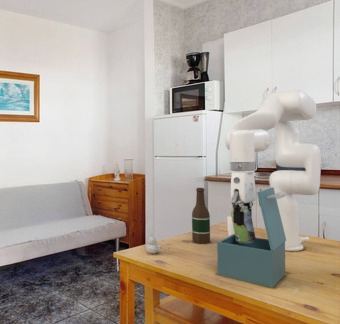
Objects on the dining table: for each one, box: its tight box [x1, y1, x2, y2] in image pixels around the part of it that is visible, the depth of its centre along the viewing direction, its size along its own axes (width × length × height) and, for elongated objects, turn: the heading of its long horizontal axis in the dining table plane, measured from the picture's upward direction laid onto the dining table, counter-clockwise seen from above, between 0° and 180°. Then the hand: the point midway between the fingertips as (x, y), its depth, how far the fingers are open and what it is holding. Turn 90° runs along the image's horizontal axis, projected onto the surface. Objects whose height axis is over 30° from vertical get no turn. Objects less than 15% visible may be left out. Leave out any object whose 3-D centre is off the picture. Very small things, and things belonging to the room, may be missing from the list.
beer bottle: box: [191, 187, 211, 245], centre depth 150 cm, size 8×8×24 cm
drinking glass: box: [226, 214, 235, 237], centre depth 130 cm, size 7×7×15 cm
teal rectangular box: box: [216, 234, 286, 289], centre depth 110 cm, size 17×14×11 cm
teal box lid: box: [256, 187, 286, 250], centre depth 104 cm, size 17×14×5 cm
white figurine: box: [145, 233, 163, 255], centre depth 136 cm, size 5×7×8 cm
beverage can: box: [230, 206, 257, 243], centre depth 112 cm, size 6×7×12 cm
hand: (242, 221), depth 112 cm, fingers closed on beverage can, 6 cm apart
